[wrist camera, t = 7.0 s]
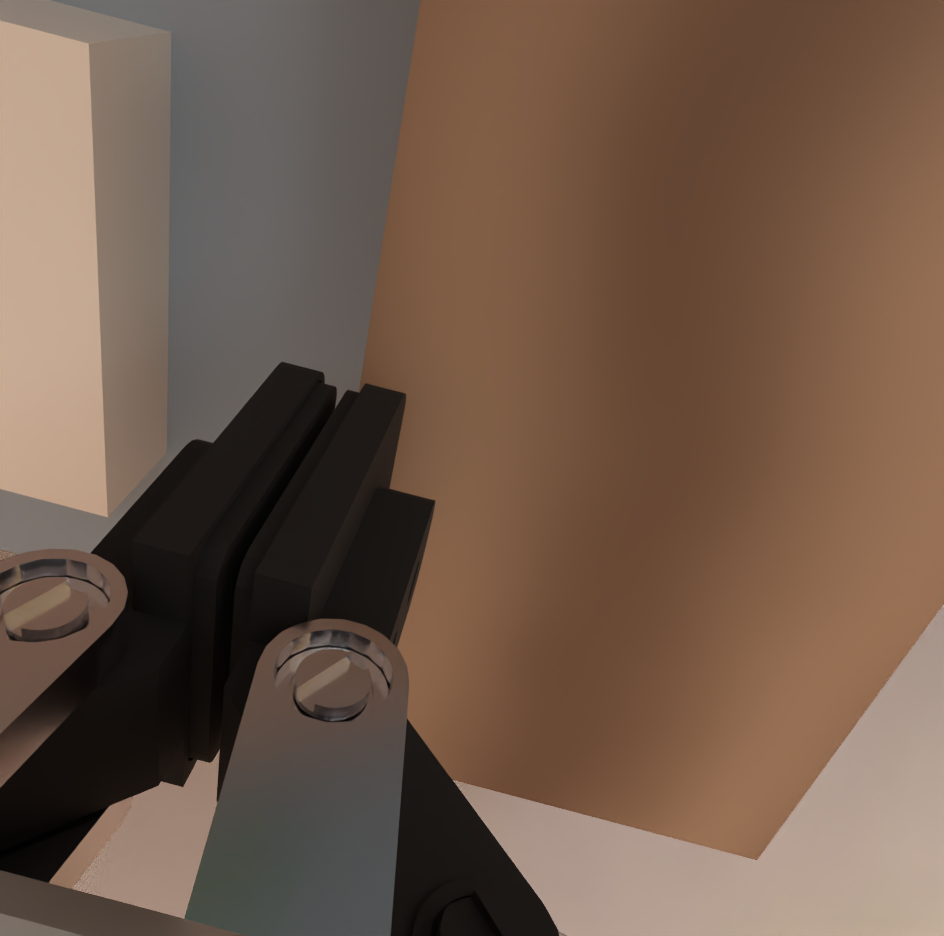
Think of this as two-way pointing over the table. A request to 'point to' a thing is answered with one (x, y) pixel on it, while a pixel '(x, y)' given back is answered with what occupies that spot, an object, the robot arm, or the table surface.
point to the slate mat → (260, 209)
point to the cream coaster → (82, 252)
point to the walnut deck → (666, 392)
